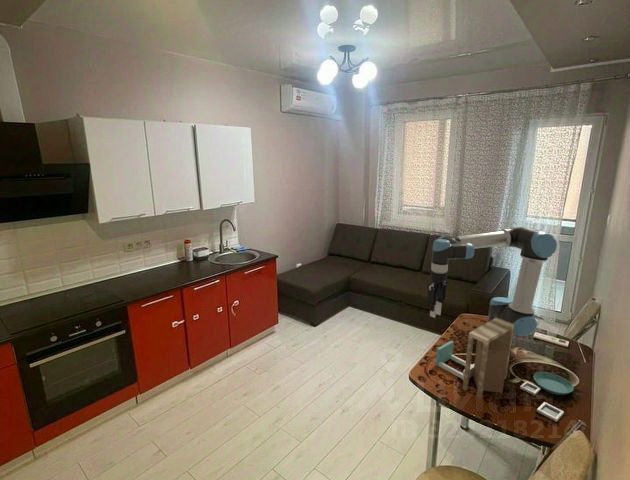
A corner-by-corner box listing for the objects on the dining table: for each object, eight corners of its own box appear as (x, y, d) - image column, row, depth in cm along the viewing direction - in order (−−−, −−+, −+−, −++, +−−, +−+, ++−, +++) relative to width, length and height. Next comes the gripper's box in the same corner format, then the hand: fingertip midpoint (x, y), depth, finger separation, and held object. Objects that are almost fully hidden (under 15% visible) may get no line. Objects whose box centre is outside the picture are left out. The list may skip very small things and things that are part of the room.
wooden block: (502, 393, 148) (508, 352, 144) (478, 390, 150) (483, 349, 145) (495, 379, 158) (501, 340, 153) (472, 376, 160) (477, 338, 155)
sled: (449, 356, 175) (451, 340, 173) (479, 371, 163) (481, 354, 161) (435, 364, 168) (436, 348, 166) (465, 381, 156) (467, 363, 154)
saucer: (568, 381, 156) (569, 376, 156) (576, 402, 143) (577, 396, 143) (530, 373, 162) (531, 368, 161) (535, 392, 149) (536, 387, 148)
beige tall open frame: (489, 369, 165) (496, 317, 158) (506, 378, 158) (514, 324, 152) (462, 388, 151) (468, 332, 145) (480, 398, 145) (487, 340, 138)
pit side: (525, 383, 155) (526, 380, 155) (540, 390, 150) (541, 387, 150) (519, 388, 151) (520, 386, 151) (534, 395, 147) (535, 393, 146)
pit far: (543, 404, 142) (544, 401, 141) (563, 414, 136) (564, 411, 136) (536, 411, 138) (537, 409, 137) (556, 422, 132) (557, 419, 132)
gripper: (442, 265, 173) (438, 308, 179) (421, 272, 164) (418, 317, 169) (455, 269, 168) (451, 313, 173) (435, 276, 158) (431, 323, 164)
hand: (435, 315), depth 171 cm, fingers open, 4 cm apart
